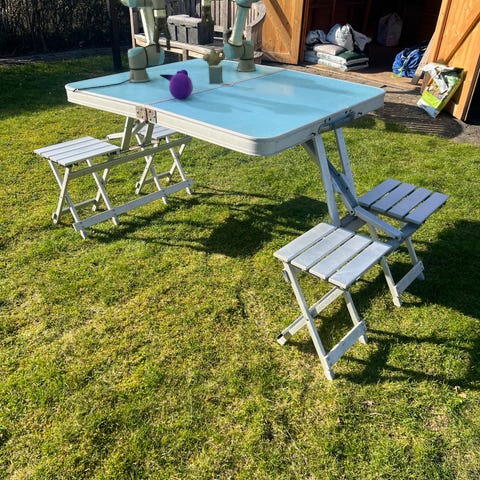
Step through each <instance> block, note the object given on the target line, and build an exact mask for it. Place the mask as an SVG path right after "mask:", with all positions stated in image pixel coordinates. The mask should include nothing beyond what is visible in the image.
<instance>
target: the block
mask: <svg viewBox="0 0 480 480" xmlns="http://www.w3.org/2000/svg"><path fill="white" fill-rule="evenodd" d="M208 81H209V84H210V85H211V84H215V85H221V84H222V83H223V65H217V66H213V65H212V66H208Z"/></svg>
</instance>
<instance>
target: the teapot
mask: <svg viewBox="0 0 480 480" xmlns="http://www.w3.org/2000/svg"><path fill="white" fill-rule="evenodd" d="M220 55H221V56H220ZM225 59H226V57H225V55H224V52H223V48H222V49H219V50H218V51H217V50H216V49H215V47H211V50H210V51H209V53H205V54H203V56H202V60H203V61H204V62H206V63H207V65H208V67H210V66H212V65H213V66H219V65H220V64H221V62H223V61H224V60H225Z"/></svg>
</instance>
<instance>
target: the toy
mask: <svg viewBox="0 0 480 480" xmlns="http://www.w3.org/2000/svg"><path fill="white" fill-rule="evenodd" d="M159 76H160V77H161V78H163V79H165V80H167V81H169V84H168V88H169V92H170V95H171V96H172V97H173V98H174V99H177V100H186V99H188V98H189V97H190V95H191V94H192V93H193V91H194V85H193V81H192V78H191V77H189V73H188V70H186V69H181V70H177V71H176V73H175V74H168V73H167V74H165V73H163V74H162V73H161V74H159Z"/></svg>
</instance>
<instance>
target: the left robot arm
mask: <svg viewBox="0 0 480 480" xmlns="http://www.w3.org/2000/svg"><path fill="white" fill-rule="evenodd" d="M120 3H121V4H122V5H123V6H124V7H125V6H126V7H128V8H133V9H134V8H136V9H137V11H138V12H140V17H141V24H142V28H143V33H144V37H145V43H146V44H145V46H144V47H143V46H137V47H132V48H130V49H127V58H128V64H129V65H128V66H129V76H128V79H127V80H123V81H122V82H118V83H111V84H105V85H104V84H103V85H96V86H87V87H81V88H75V89H73V90H72V93H75V92H76V91H83V90H91V89H98V88H105V87H111V86H112V87H113V86H118V85H123V84H125V83H127V82H129V83H133V84H141V83H148V82H150V75H149V74H148V71H147V66H159V65H163V64H164V62H165V49H164V47H162V46H161V44H160V38H161V35H162V34H163V36H164V38H165V39H166V40H165V43H166V44H165V45H166V51H172V48H171V41H172V34H171V31H170V29H169V24H168V23H167V14H166V13H167V12H166V2H165V0H120ZM155 24H156V25H155ZM77 89H78V90H77ZM77 131H79V129H77Z"/></svg>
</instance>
